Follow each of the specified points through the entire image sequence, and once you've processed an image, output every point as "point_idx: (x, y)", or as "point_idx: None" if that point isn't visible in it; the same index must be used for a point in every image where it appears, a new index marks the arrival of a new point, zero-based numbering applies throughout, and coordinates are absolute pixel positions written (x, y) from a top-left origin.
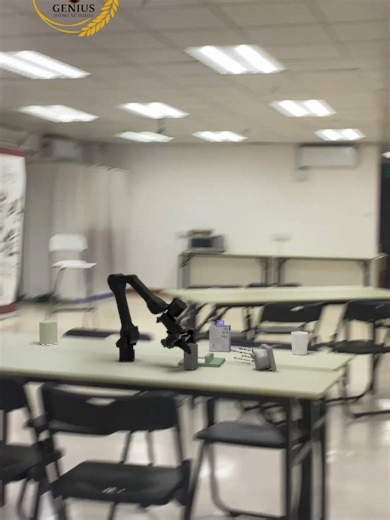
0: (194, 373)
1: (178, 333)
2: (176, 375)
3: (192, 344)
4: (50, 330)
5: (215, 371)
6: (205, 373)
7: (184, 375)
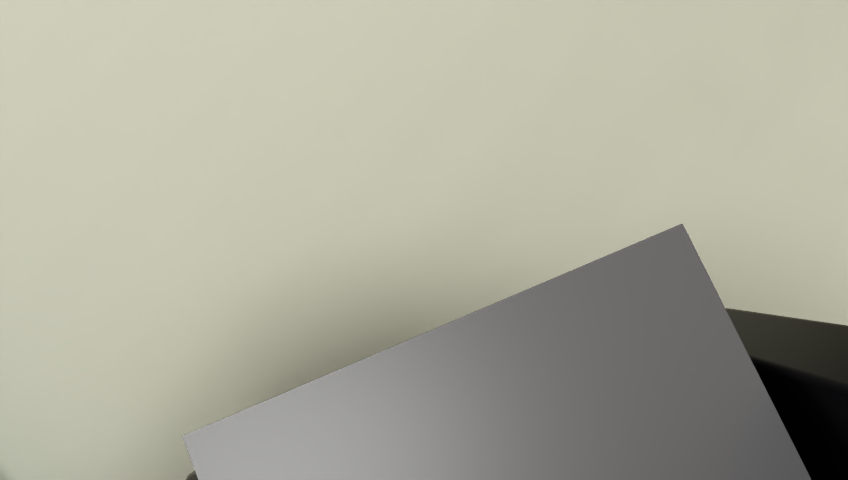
0: (524, 158)
1: None
2: (818, 228)
3: (489, 476)
4: None
5: (143, 46)
6: (378, 48)
7: (719, 153)
